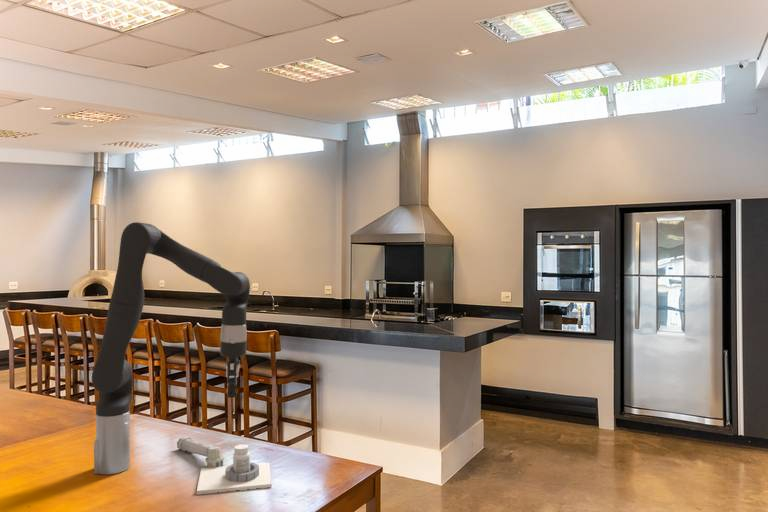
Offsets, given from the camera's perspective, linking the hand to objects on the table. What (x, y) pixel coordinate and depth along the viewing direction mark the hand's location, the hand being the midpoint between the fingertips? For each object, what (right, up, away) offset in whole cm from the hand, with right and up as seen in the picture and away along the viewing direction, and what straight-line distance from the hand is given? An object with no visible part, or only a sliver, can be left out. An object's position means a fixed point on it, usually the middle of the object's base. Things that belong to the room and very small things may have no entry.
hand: (232, 393), depth 169 cm
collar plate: (+2, -24, -5) cm, 24 cm away
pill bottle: (+4, -23, -4) cm, 24 cm away
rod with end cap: (-13, -24, +11) cm, 30 cm away
